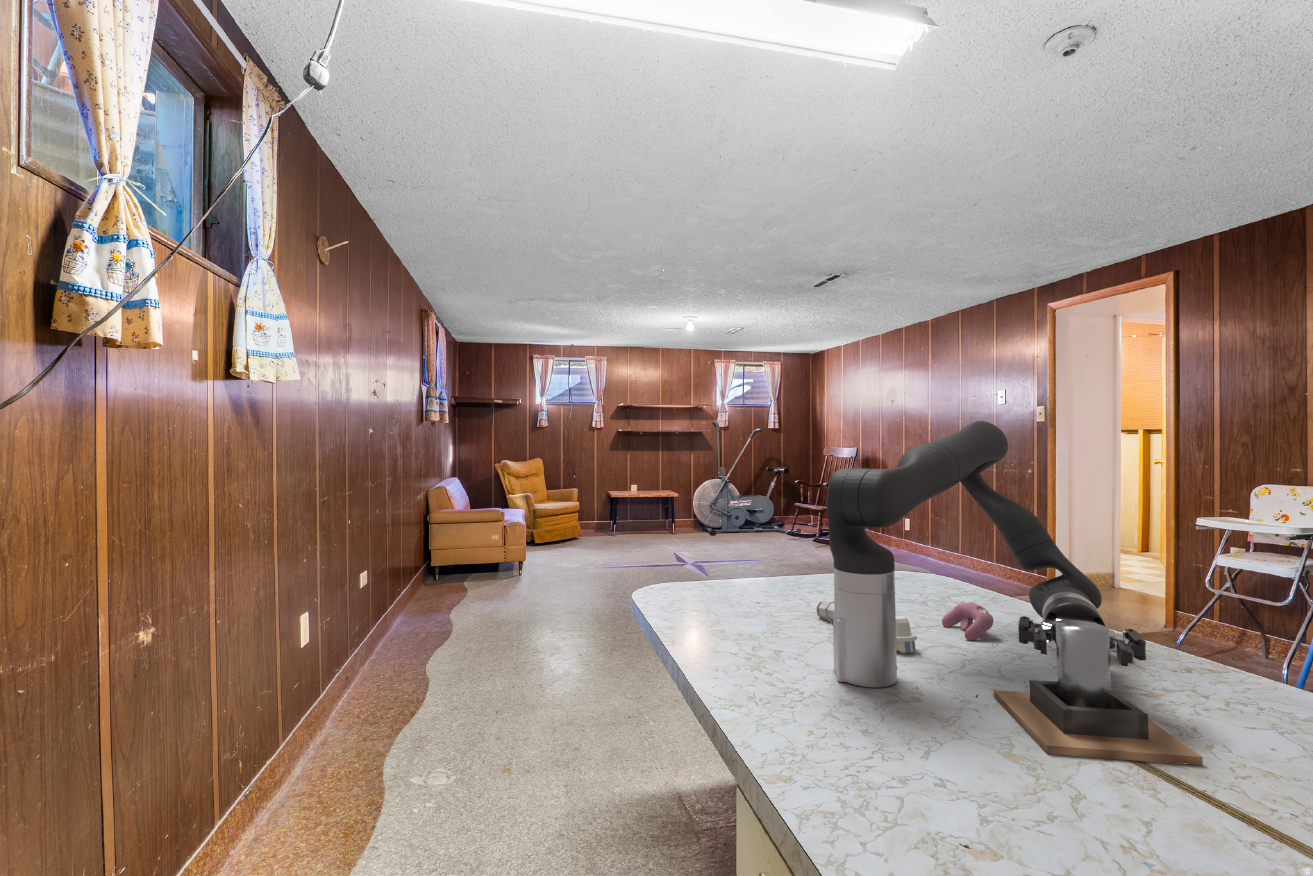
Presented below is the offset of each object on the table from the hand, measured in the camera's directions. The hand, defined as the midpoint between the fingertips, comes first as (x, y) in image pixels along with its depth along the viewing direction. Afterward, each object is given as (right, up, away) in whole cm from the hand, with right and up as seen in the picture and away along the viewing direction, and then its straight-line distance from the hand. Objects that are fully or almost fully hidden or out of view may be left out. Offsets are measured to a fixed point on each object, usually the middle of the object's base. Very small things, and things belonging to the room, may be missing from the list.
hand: (1083, 652), depth 75 cm
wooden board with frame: (0, -9, -1) cm, 10 cm away
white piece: (-15, -11, +38) cm, 42 cm away
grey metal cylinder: (0, -8, -1) cm, 8 cm away
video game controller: (+5, -11, +38) cm, 40 cm away
